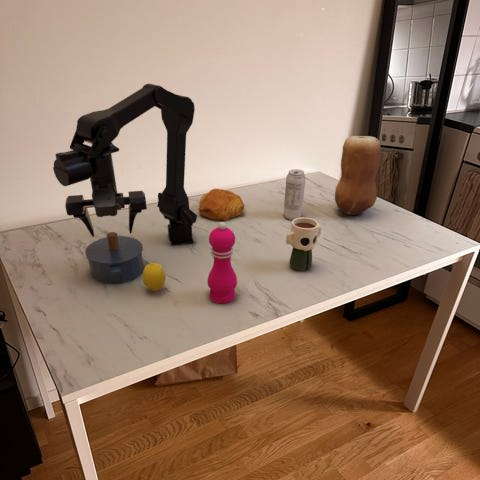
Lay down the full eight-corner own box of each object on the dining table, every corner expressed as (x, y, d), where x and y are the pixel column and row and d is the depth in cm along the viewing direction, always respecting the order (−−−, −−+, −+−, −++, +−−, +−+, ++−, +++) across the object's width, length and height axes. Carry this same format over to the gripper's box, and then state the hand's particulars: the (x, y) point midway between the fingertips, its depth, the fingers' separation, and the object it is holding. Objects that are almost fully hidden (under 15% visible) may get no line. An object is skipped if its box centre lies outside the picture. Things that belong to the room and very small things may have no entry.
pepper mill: (207, 288, 116) (205, 215, 104) (235, 288, 117) (237, 215, 105) (208, 305, 111) (206, 230, 98) (237, 304, 111) (239, 229, 99)
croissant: (215, 205, 162) (213, 183, 158) (251, 211, 154) (250, 187, 150) (188, 218, 153) (185, 194, 149) (225, 225, 144) (223, 200, 140)
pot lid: (141, 237, 127) (139, 219, 123) (145, 263, 115) (142, 245, 112) (86, 242, 124) (83, 224, 121) (85, 269, 112) (80, 250, 109)
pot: (141, 250, 131) (138, 232, 128) (145, 286, 117) (143, 266, 113) (92, 255, 129) (88, 236, 125) (90, 292, 114) (86, 272, 111)
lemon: (162, 298, 113) (159, 270, 108) (141, 295, 114) (137, 267, 109) (169, 286, 117) (167, 258, 112) (148, 283, 118) (145, 256, 113)
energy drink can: (304, 215, 152) (309, 171, 143) (296, 222, 148) (300, 176, 139) (288, 211, 155) (292, 167, 146) (279, 217, 151) (283, 172, 142)
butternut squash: (346, 201, 162) (359, 127, 147) (380, 213, 155) (397, 136, 140) (323, 212, 154) (334, 136, 139) (357, 225, 147) (373, 146, 132)
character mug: (291, 277, 122) (295, 232, 114) (276, 265, 126) (280, 221, 119) (324, 267, 126) (330, 224, 118) (309, 256, 131) (314, 213, 123)
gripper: (57, 189, 99) (72, 253, 108) (144, 184, 103) (151, 246, 112) (61, 172, 108) (74, 232, 117) (141, 167, 111) (148, 226, 121)
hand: (112, 234), depth 116 cm, fingers open, 9 cm apart
